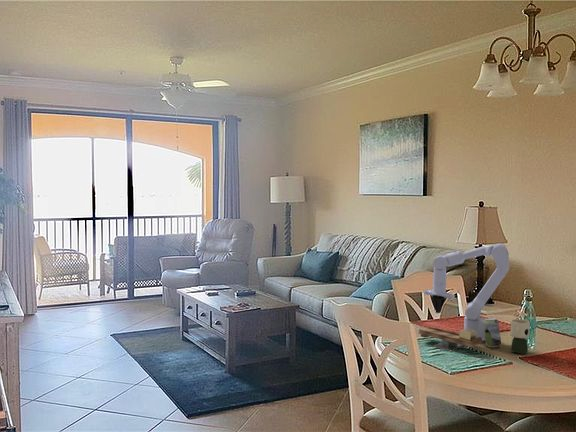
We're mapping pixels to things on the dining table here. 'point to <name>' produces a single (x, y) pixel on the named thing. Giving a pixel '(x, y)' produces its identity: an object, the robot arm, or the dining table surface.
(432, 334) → the beam
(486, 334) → the beverage can
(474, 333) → the brass block
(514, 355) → the dining table surface
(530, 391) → the dining table surface
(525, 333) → the character mug
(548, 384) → the dining table surface
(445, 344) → the pivot stand
